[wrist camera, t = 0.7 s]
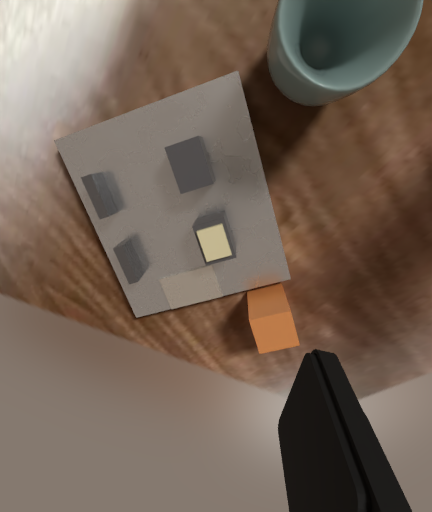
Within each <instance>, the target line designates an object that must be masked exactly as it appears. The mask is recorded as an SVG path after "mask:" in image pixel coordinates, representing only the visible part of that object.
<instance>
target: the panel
mask: <svg viewBox="0 0 432 512" xmlns="http://www.w3.org/2000/svg"><path fill="white" fill-rule="evenodd" d="M196 136H201V137H203V140H204V143H205V147H206V150H207V153H208V156H209V160H210V163H211V166H212V169H213V173H214V176H215V179H216V181H215V182H214V184H212V185H208V186H205V187H202V188H199V189H196V190H193V191H190V192H186V193H183V194H180V191H179V188H178V185H177V182H176V179H175V177H174V174H173V171H172V168H171V165H170V162H169V159H168V157H167V154H166V151H165V147H167V146H170V145H173V144H176V143H179V142H182V141H185V140H187V139H190V138H193V137H196ZM54 141H55V144H56V146H57V148H58V150H59V152H60V154H61V157H62V159H63V161H64V163H65V165H66V167H67V169H68V172H69V174H70V176H71V178H72V180H73V182H74V185H75V187H76V189H77V191H78V193H79V195H80V198H81V200H82V202H83V204H84V206H85V208H86V210H87V213H88V215H89V217H90V219H91V221H92V223H93V226H94V228H95V230H96V232H97V234H98V236H99V239H100V241H101V243H102V245H103V247H104V249H105V251H106V254H107V256H108V258H109V260H110V262H111V264H112V267H113V269H114V271H115V273H116V275H117V277H118V279H119V282H120V284H121V286H122V288H123V290H124V292H125V295H126V297H127V299H128V301H129V303H130V305H131V308H132V310H133V312H134V314H135V316H136V318H137V317H141V316H145V315H149V314H153V313H157V312H161V311H165V310H169V309H175V308H179V307H183V306H187V305H191V304H195V303H199V302H203V301H207V300H211V299H215V298H219V297H223V296H225V295H229V294H233V293H237V292H241V291H245V290H249V289H253V288H257V287H261V286H265V285H269V284H273V283H277V282H281V281H285V280H289V279H291V278H290V274H289V270H288V266H287V262H286V258H285V254H284V250H283V246H282V242H281V238H280V234H279V230H278V226H277V222H276V219H275V215H274V211H273V207H272V203H271V199H270V195H269V191H268V187H267V183H266V179H265V175H264V171H263V167H262V163H261V159H260V155H259V151H258V147H257V143H256V139H255V136H254V132H253V128H252V124H251V120H250V116H249V112H248V108H247V104H246V100H245V96H244V92H243V88H242V84H241V80H240V76H239V72H238V71H235V72H233V73H230V74H228V75H225V76H222V77H220V78H217V79H214V80H212V81H209V82H207V83H204V84H201V85H199V86H196V87H193V88H191V89H188V90H186V91H183V92H180V93H178V94H175V95H172V96H170V97H167V98H165V99H162V100H159V101H157V102H154V103H151V104H149V105H146V106H144V107H141V108H138V109H136V110H133V111H130V112H128V113H125V114H122V115H120V116H117V117H115V118H112V119H109V120H107V121H104V122H101V123H99V124H96V125H94V126H91V127H88V128H86V129H83V130H80V131H78V132H75V133H73V134H70V135H67V136H65V137H62V138H59V139H57V140H54ZM221 211H225V212H226V215H227V218H228V221H229V225H230V228H231V231H232V234H233V238H234V241H235V244H236V258H233V259H230V260H226V261H222V262H219V263H215V264H211V265H208V266H206V265H205V262H204V259H203V256H202V253H201V251H200V248H199V245H198V242H197V239H196V236H195V234H194V231H193V228H192V226H193V224H194V222H195V220H196V219H198V218H201V217H205V216H208V215H211V214H215V213H218V212H221Z"/></svg>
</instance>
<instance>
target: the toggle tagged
mask: <svg viewBox="0 0 432 512" xmlns="http://www.w3.org/2000/svg"><path fill="white" fill-rule="evenodd" d="M192 228H193V231H194V234H195V236H196V239H197V242H198V245H199V248H200V251H201V253H202V256H203V259H204V262H205V265H206V266H208V265H211V264H215V263H219V262H222V261H226V260H230V259H233V258H236V244H235V241H234V238H233V234H232V231H231V228H230V225H229V221H228V218H227V215H226V212H225V211H221V212H218V213H215V214H211V215H208V216H205V217H201V218H198V219H196V220H195V222H194V224H193V226H192Z"/></svg>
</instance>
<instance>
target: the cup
mask: <svg viewBox="0 0 432 512" xmlns="http://www.w3.org/2000/svg"><path fill="white" fill-rule="evenodd" d="M422 6H423V0H278V2H277V5H276V9H275V12H274V16H273V20H272V24H271V28H270V33H269V38H268V43H267V64H268V69H269V73H270V76H271V78H272V81H273V82H274V84H275V85H276V87H277V88H278V90H279V91H280V92H281V93H282V94H283V95H284V96H285V97H287V98H288V99H290V100H291V101H293V102H295V103H297V104H300V105H304V106H323V105H326V104H329V103H333V102H336V101H338V100H341V99H343V98H345V97H347V96H349V95H352V94H354V93H355V92H357V91H359V90H361V89H363V88H364V87H366V86H368V85H370V84H371V83H372V82H374V81H375V80H376V79H378V78H379V77H380V76H381V75H383V74H384V73H385V72H386V71H387V70H388V69H389V68H390V66H391V65H392V64H393V63H394V62H395V61H396V60H397V59H398V57H399V56H400V55H401V53H402V52H403V50H404V49H405V48H406V46H407V45H408V43H409V41H410V39H411V37H412V35H413V33H414V32H415V29H416V27H417V24H418V21H419V18H420V15H421V11H422Z"/></svg>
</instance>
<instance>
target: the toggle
mask: <svg viewBox="0 0 432 512" xmlns="http://www.w3.org/2000/svg"><path fill="white" fill-rule="evenodd" d="M165 151H166V154H167V157H168V159H169V162H170V165H171V168H172V171H173V174H174V177H175V179H176V182H177V185H178V188H179V191H180V194H183V193H186V192H190V191H193V190H196V189H199V188H202V187H205V186H208V185H212V184H214V182H215V181H216V179H215V176H214V173H213V169H212V166H211V163H210V160H209V156H208V153H207V150H206V147H205V143H204V140H203V137H201V136H196V137H193V138H190V139H187V140H185V141H182V142H179V143H176V144H173V145H170V146H167V147H165Z"/></svg>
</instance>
